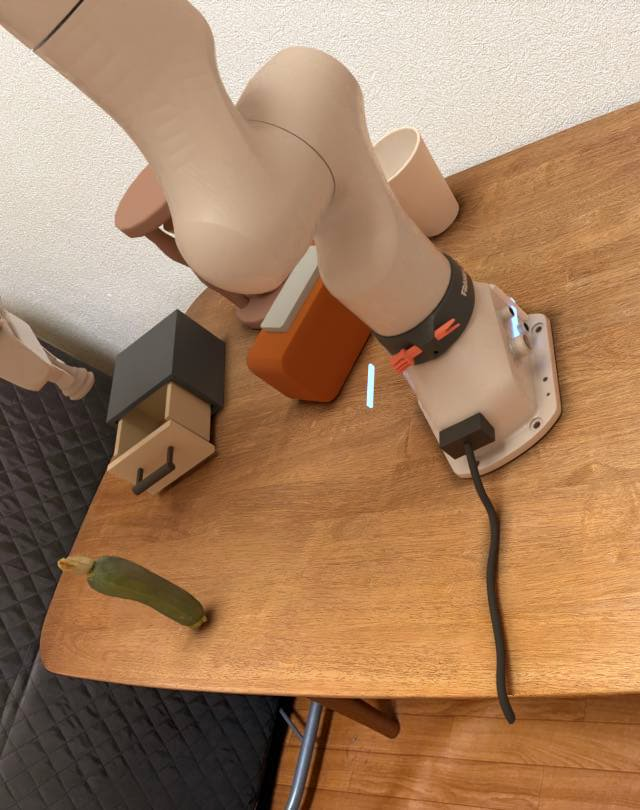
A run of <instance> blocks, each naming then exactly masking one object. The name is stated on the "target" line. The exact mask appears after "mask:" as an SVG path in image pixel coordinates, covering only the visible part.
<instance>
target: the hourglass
mask: <svg viewBox="0 0 640 810" xmlns="http://www.w3.org/2000/svg"><path fill="white" fill-rule="evenodd" d="M161 226H162V228H163V229H161ZM114 227H116V228H117V229H118V230H119V231H120V232H121V233H123V234H124V235H125V236H127V237H128V238H130V239H137V238H143V237H145V238H146V239H148V240H149V241H150V242H151V243H152V244H154V245H155V246H156V247H157V248H158V249H159V251H161V252H162V253H163V254H164V255H165V256H166V257H167V258H169V259H170V260H172V261H173V262H176V263H178V264H180V265H182V266H185V267H187V268H190V269H191V271H192V272H193V273H194V275H195V276H196V277H197V279H198V280H199V281H200V282H201V283H202V284H203V285H205V286H206V287H207V288H208V289H211V291H214V292H216V293H218V294H219V295H221V296H222V297H224V298H225V299H226V300H228V301H229V302H230V303H232V304H233V305H234V309H235V313H236V318H237V319H238V320H239V321H240V322H242V323H243V325H245V326H247V327H248V328H250V329H251V330H262V328H261V324H262V322H263V320H264V319H265V317H266V315H267V314H268V312H269V310H270V308H271V307H272V305H273V303H274V302H275V300H276V298H277V296H278V295H279V293H280V291H281V290H282V288H283V286H284V285H285V283H286V281H287V279H288V278H289V276H290V274H291V273H292V272H291V273H290V274H289V275H288V277H287V278H286V279H285V280H284V281H283V282H282V284H281V285H280V286H279V287H278V288H276V289H275V290H272V291H270V292H265V293H260V294H239V293H233V292H229V291H226V290H223V289H220V288H218V287H216V286H214V285H212V284H210V283H209V282H207V281H206V280H204V279H203V278H201V277H200V276H199V275H198V274H196V273H195V272H194V271H193V269H192V268H191V267H190V266H189V265H188V264H187V262H186V261H185V260H184V258H183V256H182V255H181V253H180V251H179V249H178V247H177V245H176V241H175V236H172V235H174V227H173V221H172V216H171V212H170V209H169V206H168V203H167V200H166V197H165V195H164V192H163V190H162V188H161V186H160V184H159V182H158V179H157V178H156V176H155V174H154V172H153V170H152V169H151V167H150V165H149V164H148V163H147V164H146V166H145V167H144V168H143V169H142V170H141V171H140V172H139V174H138V175H137V176H136V178H135V179H134V180H133V181H132V182H131V184H130V185H129V186H128V188H127V189H126V191H125V193H124V194H123V196H122V197H121V199H120V201H119V203H118V206H117V207H116V211H115V213H114ZM166 232H168V233H166ZM169 233H170V234H169ZM171 234H172V235H171ZM313 241H314V239H313V240H312V242H311V244H312V243H313ZM311 244H310V246H311Z"/></svg>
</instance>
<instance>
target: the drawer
mask: <svg viewBox="0 0 640 810" xmlns="http://www.w3.org/2000/svg"><path fill="white" fill-rule="evenodd" d="M210 415H211V404H210V403H208V402H207V401H205V400H204V399H202V398H201V397H199V396H198V395H196V394H194V393H193V392H191V391H190V390H188V389H187V388H185V387H183V386H182V385H180V384H179V383H177V382H176V381H174V380H173V379H172V380H170V381H169V382H168V383H166V384H165V385H164V386H162V387H161V388H160V389H158V390H157V391H156V392H154V393H153V394H152V395H150V396H149V397H148V398H146V399H145V400H144V401H142V402H141V403H140V404H138V405H137V406H136V407H134V408H133V409H132V410H130V411H129V412H128V413H126V414H125V415H124V416H122V417H121V418H120V419H119V424H118V429H117V431H116V438H115V445H114V451H113V452H114V453H113V457H114V458H116V459H114V460H113V461H111V462H110V463H109V464H108V465H107V468H106V469H107V470H106V472H107V473H110V474H112V475H113V476H115V477H117V478H119V479H121V480H123V481H125V482H127V483H129V484H130V485H133V486H132V488H131V491H132V493H133V494H134V495H136V496H140V495H141V494H143V493H144V492H146V493H148V494H150V495H152V496H155V495H156V494H158V492H160V491H162V490H163V489H164V488H166V487H167V486H169V485H170V484H171V483H173V482H174V481H176V480H177V479H178V478H180V477H181V476H182V475H184V474H186V473H187V472H188V471H190V470H191V469H193V468H194V467H195V466H197V465H198V464H200V463H201V462H202V461H203V460H205V459H207V458H208V457H209V456H211V455H212V454H213V453H214V452H215V447H216V446H215V445H213V444H212V443H210V440H211V439H210V438H211V437H210V436H211V416H210Z"/></svg>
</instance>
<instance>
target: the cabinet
mask: <svg viewBox="0 0 640 810" xmlns="http://www.w3.org/2000/svg"><path fill="white" fill-rule="evenodd" d="M225 346H226V342H225V341H223V340H222V339H221V338H219V337H218V336H216V335H215V334H213V333H212V332H211V331H209V329H206V327H204V326H202V325H201V324H200V323H198V322H197V321H195V320H194V319H193V318H191V317H189V316H188V315H187V314H185V313H184V312H183V311H181V310H180V309H179V308H176V309H174V310H173V311H172V312H171V313H169V314H168V315H166V316H165V317H164V318H163V319H161V320H160V321H159V322H158V323H157V324H155V325H154V326H153V327H151V328H150V329H149V330H148V331H146V332H145V333H143V335H141V336H140V337H138V338H137V339H136V340H135V341H133V342H132V343H131V344H129V345H128V346H127V347H126V348H124V349H123V350H122V351H121V352H120V353H118V354H117V355H116V359H115V364H114V371H113V376H112V377H113V378H112V383H111V389H110V395H109V402H108V407H107V415H106V421H105V423H106V424H107V425H109V426H111V427H113V428H114V429H116V430H118V424H119V419H120V418H121V417H122V416H124V415H125V414H126V413H128V412H129V411H130V410H132V409H133V408H134V407H136V406H137V405H138V404H140V403H141V402H142V401H144V400H145V399H146V398H148V397H149V396H150V395H152V394H153V393H154V392H156V391H157V390H158V389H160V388H161V387H162V386H164V385H165V384H166V383H168V382H169V381H170V380H172V379H173V380H174V381H176V382H177V383H179V384H180V385H182V386H183V387H185V388H187V389H188V390H190V391H191V392H193V393H194V394H196V395H198V396H199V397H201V398H202V399H204V400H205V401H207V402H208V403H210V404H211V415H210V417H212V416H213V415H215V414H216V413H217V412H219V411H220V410H222V409H223V408H224V399H225V398H224V395H225V394H224V393H225V353H226V352H225V349H226V347H225Z"/></svg>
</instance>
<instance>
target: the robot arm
mask: <svg viewBox="0 0 640 810" xmlns="http://www.w3.org/2000/svg"><path fill="white" fill-rule="evenodd" d="M0 26H1V27H2V28H3V29H5V30H6V31H7V32H8V33H9V34H10V35H12V36H13V38H15V39H17V41H19V42H20V43H21V44H22V45H24V46H25V47H26V48H27V49H29V50H30V51H32V52H33V53H34V54H35V55H36V56H37V57H38V58H40V59H41V60H42V61H44V62H45V63H46V64H48V65H49V66H50V67H51V68H52V69H54V70H55V71H56V72H57V73H59V74H60V75H61V76H62V77H63V78H65V80H67V81H68V82H69V83H71V84H72V85H73V86H75V88H77V90H79V91H80V92H81V93H83V94H84V95H85V96H86V97H87V98H88V99H90V100H91V101H92V102H93V103H94V104H95V105H96V106H98V107H99V108H100V109H101V110H102V111H103V112H104V113H106V115H108V116H109V117H110V118H111V119H112V120H113V121H114V122H115V123H116V124H117V125H118V126H119V127H120V128H121V130H123V131H124V132H125V134H126V135H127V136H128V137H129V139H130V140H131V141H132V142H133V143H134V144H135V146H136V148H137V149H138V150H139V152H140V153H141V155H142V156H143V158H144V159H145V160H146V162H147V165H148V164H149V165H150V167H151V169H152V170H153V172H154V174H155V176H156V178H157V179H158V182H159V184H160V186H161V188H162V190H163V192H164V195H165V197H166V200H167V203H168V206H169V209H170V212H171V216H172V221H173V227H174V234H173V235H174V238H175V241H176V245H177V247H178V249H179V251H180V253H181V255H182V256H183V258H184V260H185V261H186V262H187V264H188V265H189V266H190V267H191V268H192V269H193V271H194V272H195V273H196V274H198V275H199V276H200V277H201V278H203V279H204V280H206V281H207V282H209V283H210V284H212V285H214V286H216V287H218V288H220V289H223V290H226V291H229V292H233V293H239V294H260V293H265V292H270V291H272V290H275V289H276V288H278V287H279V286H280V285H281V284H282V282H283V281H284V280H285V279H286V278H287V277H288V275H289V274H290V273H291V272H292V271H293V269H294V268H295V267H296V265H297V264H298V263H299V261H300V260H301V259H302V257H303V256H304V255H305V254H306V252H307V251H308V249H309V247H310V244H311V242H312V240H313V241H315V245H316V252H317V263H318V269H319V273H320V276H321V279H322V281H323V283H324V285H325V287H326V288H327V289H328V291H329V292H330V293H331V294H332V295H333V296H334V297H335V298H336V299H337V300H338V301H340V302H341V303H342V304H343V305H344V306H345V307H347V308H348V309H349V310H350V311H351V312H352V313H354V314H355V315H356V316H357V317H358V318H359V319H361V320H362V321H363V322H364V323H365V324H366V325H368V326H369V328H370V330H371V334H372V335H373V336H374V338H375V339H376V341H377V342H378V343H379V345H380V346H381V347H382V348H383V349H384V351H386V352H387V353H388V354H389V355H390V357H389V361H388V362H389V363H390V365H391V367H392V369H393V370H394V371H395V372H396V373H398V374H402V375H403V377H404V378H405V380H406V381H407V383H408V385H409V386H410V388H411V390H412V391H413V393H414V395H415V397H416V398H417V404H418V406H419V408H420V410H421V412H422V414H423V415H424V418H425V420H426V421H427V423H428V425H429V426H430V430H431V431H432V433H433V435H434V437H435V438H436V440H437V443H438V444H439V449H440V450H441V451H442V452H443V454H444V456H445V458H446V460H447V462H448V464H449V466H450V467H451V469H452V471H453V473H454V474H455V475H456V476H457V478H459V479H472V481H473V486H474V489H475V491H476V494H477V496H478V497H479V499H480V502H481V503H482V505H483V507H484V509H485V511H486V514H487V517H488V520H489V527H490V542H489V549H488V556H487V563H486V571H485V574H486V575H485V580H486V581H485V582H486V596H487V604H488V608H489V610H488V611H489V616H490V620H491V626H492V631H493V637H494V638H493V639H494V645H495V655H496V657H495V659H496V663H495V664H496V666H495V667H496V668H495V670H496V671H495V686H496V694H497V699H498V703H499V706H500V708H501V711H502V713H503V715H504V718H505V719H506V721H507V723H508V724H509V725H514V723H515V722H516V720H517V719H516V713H515V712H514V709H513V707H512V704H511V702H510V699H509V695H508V690H507V681H506V680H507V679H506V675H507V654H506V643H505V638H504V632H503V626H502V619H501V616H500V609H499V603H498V597H497V590H496V589H497V587H496V566H497V559H498V558H497V557H498V551H499V545H500V544H499V543H500V525H499V519H498V515H497V511H496V509H495V507H494V504H493V501H492V500H491V499H490V497H489V495H488V492H487V491H486V489H485V486H484V484H483V480H482V477H481V476H483V475H486V474H489V473H490V472H493V471H494V470H497V469H499V468H500V467H503V466H504V465H506V464H508V463H509V462H511V461H513V460H514V459H516V458H517V457H518V456H520V455H522V454H523V453H525V452H527V450H529V449H530V448H531V447H533V446H534V445H535V444H536V443H537V442H539V441H540V440H541V439H542V438H543V437H544V436H545V435H546V434H547V433H548V432H549V431H550V430H551V428H552V427H553V426H554V425H555V423H556V422H557V420H558V419H559V418H560V416H561V414H562V403H561V394H560V386H559V379H558V371H557V363H556V356H555V355H556V354H555V349H554V339H553V333H552V323H551V320H550V318H549V317H547V316H546V315H545V314H544V313H540V312H539V313H529V314H528V313H526V312H525V311H524V310H523V309H522V308H521V307H520V306H519V305H518V304H517V303H516V301H515V300H514V299H513V298H512V297H510V296H509V295H507V293H505V292H504V291H503V290H502V289H501V288H500V287H499V286H498V285H496V284H493V283H487V282H481V281H478V280H475V279H472V277H471V275H469V273H468V272H467V271H466V270H465V268H464V267H463V266H462V265H461V263H459V262H458V261H457V260H456V259H454V258H453V257H451V256H450V255H449V254H448V253H447V252H443V251H441V250H440V249H439V248H438V247H437V246H436V245H435V244H434V243H433V242H432V241H431V240H430V238H429V237H427V236H426V235H425V234H424V233H423V232H422V231H421V230H420V229H419V227H418V226H417V225H416V224H415V223H414V222H413V221H412V219H411V218H410V217H409V216H408V215H407V213H406V212H405V211H404V209H403V208H402V206H401V205H400V203H399V202H398V200H397V198H396V197H395V195H394V193H393V191H392V189H391V187H390V185H389V183H388V181H387V179H386V177H385V175H384V173H383V171H382V168H381V166H380V164H379V161H378V159H377V156H376V154H375V151H374V148H373V143H372V139H371V137H370V132H369V129H368V124H367V119H366V109H365V100H364V98H365V97H364V93H363V91H362V87H361V86H360V83H359V82H358V80H357V78H356V77H355V76H354V74H353V73H352V72H351V71H350V70H349V69H348V67H347V66H346V65H344V64H343V63H342V62H341V61H340V60H338V59H337V58H335V57H334V56H333V55H330V54H329V53H327V52H325V51H322V50H320V49H316V48H313V47H309V46H300V45H298V46H297V45H296V46H289V47H286V48H283V49H281V50H279V51H278V52H277V53H276V54H274V55H273V56H272V57H271V58H270V59H269V60H268V61H267V62H266V63H265V64H264V65H263V66H261V68H260V69H259V70H258V71H257V72H256V73H255V74H254V75H253V76H252V77H251V78H250V79H249V80H248V81H247V83H246V86H245V87H244V89H243V91H242V93H241V95H240V96H239V98H238V100H237V102H236V103H235V104H234V102H233V101H232V99H231V97H230V96H229V93H228V91H227V90H226V87H225V85H224V82H223V80H222V77H221V74H220V71H219V66H218V59H217V58H218V57H217V47H216V41H215V37H214V32H213V30H212V28H211V26H210V24H209V22H208V20H207V19H206V18H205V16H204V15H203V14H202V12H201V11H200V10H199V9H197V7H195V5H193V4H192V3H191V2H190V1H189V0H0ZM190 267H189V268H190ZM191 268H190V269H191ZM193 271H192V272H193ZM194 272H193V273H194ZM195 273H194V274H195ZM1 299H2V298H1V296H0V301H1ZM43 348H44V350H45V351H44V350H43ZM45 352H46V353H45ZM46 354H47V355H48V356H54V359H56V360H57V361H59V362H61V363H63V364H66V363H65V361H63V360H62V359H59V358H58V357H56V356H55V355H53V354H52V352H50V351H49V350H47V348H45V347H44V346H43V345H42V344H41V343H40V341H39V340H38V337H37V336H36V335H35V333H34V331H33V329H32V328H31V326H30V324H28V323H26V322H25V320H23V319H21V318H20V317H18V316H16V315H15V314H13V313H11V312H10V311H8V310H6V309H4V308H2V306H0V379H3V380H5V381H7V382H9V383H11V384H13V385H15V386H17V387H20V388H22V389H25V390H27V391H32V392H39V391H40V390H41V389H42V388H43V387H44V385H47V383H48V382H50V383H53V384H56V386H58V385H59V386H61V387H63V388H66V389H67V388H69V387H70V386H71V385H72V383H73V382H74V380H75V379H74V377H73V376H72V374H70V373H69V372H67V371H65V370H64V369H62V368H61V369H60V368H58V367H57V366H55V365H53V364H52V363H51V362H50V360H49V358H48V357H47V355H46ZM367 372H368V374H367V394H366V406H367V407H368V408H370V409H372V408H374V389H375V388H374V386H375V383H374V382H375V365H373V364H372V363H369V364H368V371H367ZM59 386H58V387H59Z"/></svg>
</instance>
